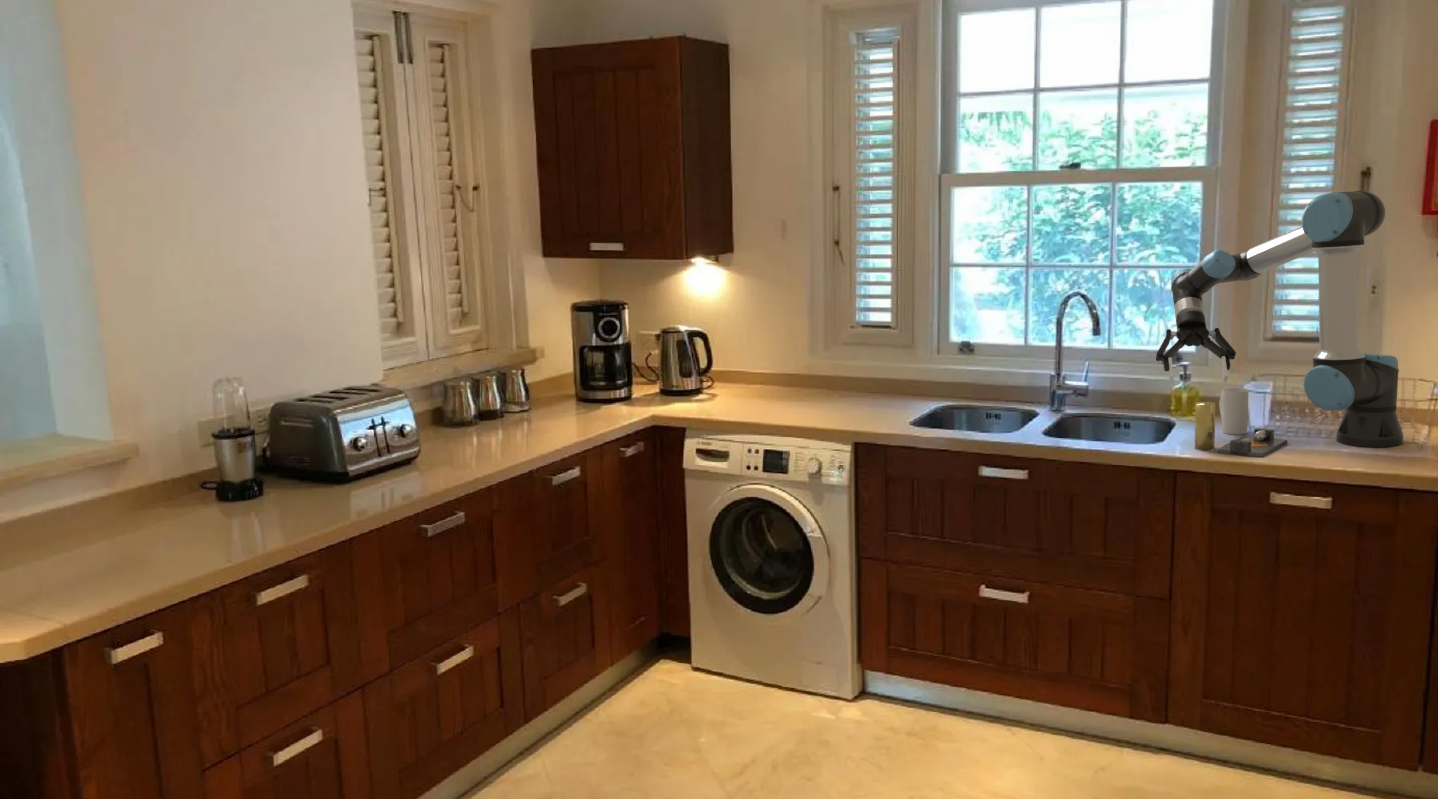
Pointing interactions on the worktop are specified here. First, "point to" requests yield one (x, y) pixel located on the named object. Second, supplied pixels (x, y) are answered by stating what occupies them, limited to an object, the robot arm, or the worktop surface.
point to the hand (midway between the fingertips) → (1198, 379)
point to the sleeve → (1205, 425)
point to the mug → (1234, 410)
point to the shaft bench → (1254, 444)
